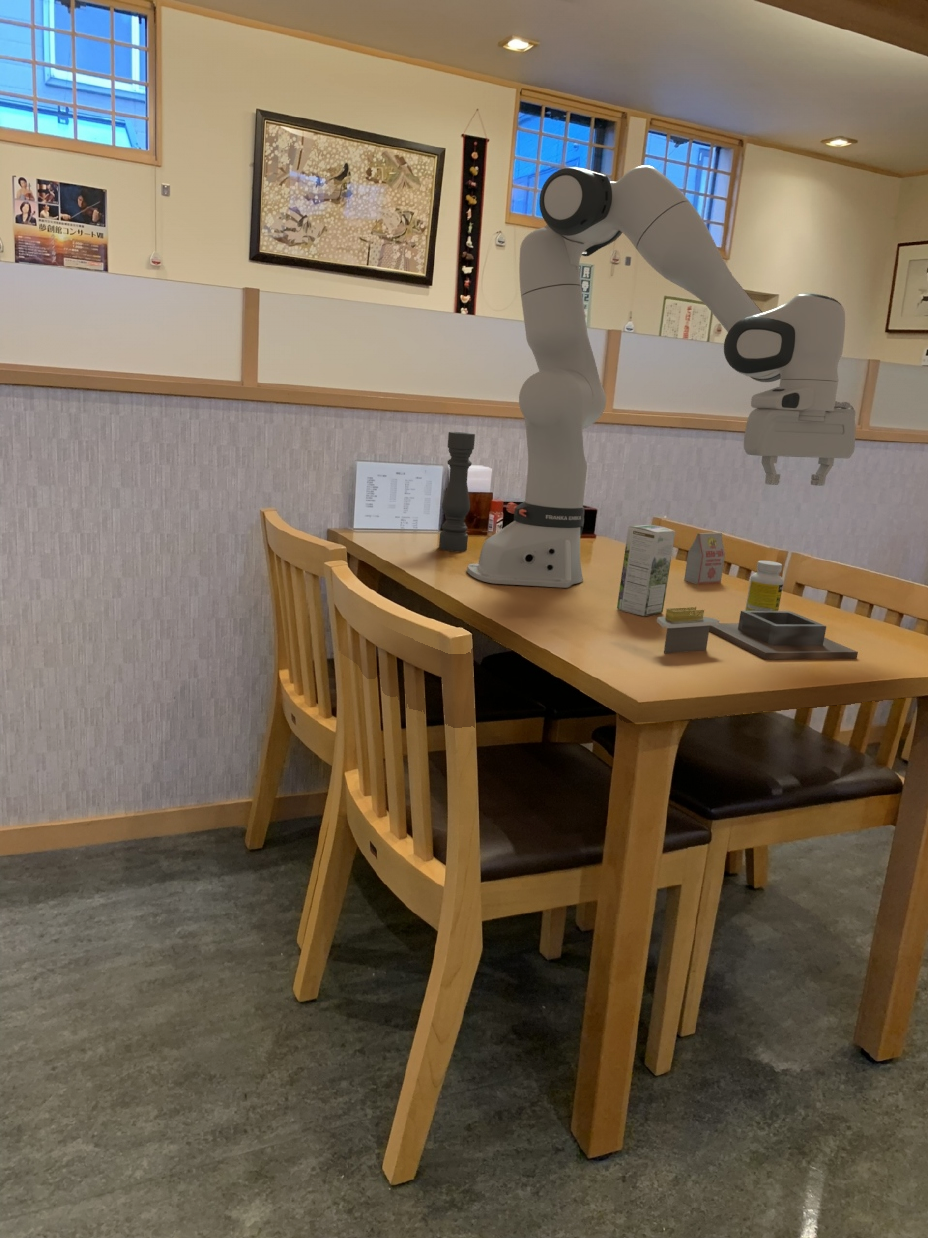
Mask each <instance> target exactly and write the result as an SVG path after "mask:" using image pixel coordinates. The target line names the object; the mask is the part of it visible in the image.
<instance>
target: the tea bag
mask: <svg viewBox="0 0 928 1238" xmlns="http://www.w3.org/2000/svg"><path fill="white" fill-rule="evenodd" d="M725 558H726V553H725V547H724V541H723V533H722V532H705V533H704V532H702V533H701V532H700V533H697V534H696V536H695V538H694V540H693V543H692V545H691V546H690V548H689V550H688V552H687V559H686V564H685V572H684V579H683V581H685V582H689V583H692V584H695V585H706V584H709V585H710V584H721V582H722V576H723V571H724V563H725Z"/></svg>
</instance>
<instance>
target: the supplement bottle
mask: <svg viewBox="0 0 928 1238" xmlns="http://www.w3.org/2000/svg"><path fill="white" fill-rule="evenodd" d="M756 565H757V566H756V570H757V572H754V573H753V574H751V576H750V579H749V580H750V581H749V584H748V585H749V586H748V592H747V598H746V601H745V602H746V604H745V609H744V611H780V609H779V608H780V604H781V599H782V598H781V597H782V592H783V588H784V579H783V578H782V576H780V574H781V572H782V568H783V564H782V563H780V562H777V561H772V560H758V561H757V564H756Z"/></svg>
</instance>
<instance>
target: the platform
mask: <svg viewBox="0 0 928 1238" xmlns="http://www.w3.org/2000/svg"><path fill="white" fill-rule="evenodd" d="M665 612H666V613H665V616H657V618H656V622H657V624H659V626H661V627H663V628H665V629H666V633H665V641H664V647H663V648H664V650H663V654H665V655H666V654H675V653H676V654H677V653H685V652H686V653H687V652H699V651H706V650H707V646H708V640H709V636H710V634H709V633H710V631H709V628H710V625H719V623H720V620H719V619H716V618H714V617H710V616H709V617H707V616H704V613H705V609H704V608H703V609H697V606H690V607H688V606H687V607H669V608H666V610H665Z"/></svg>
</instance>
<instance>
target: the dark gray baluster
mask: <svg viewBox="0 0 928 1238" xmlns="http://www.w3.org/2000/svg"><path fill="white" fill-rule="evenodd" d="M475 439H476V434H475V433H472V432H471V433H470V432H461V431H448V434H447V448H448V453H449V456H450V458H449V459H448V460H447V465H449V476H448V478H449V479H448V484H447V488H446V490H445V494H444V497H443V501H442V503H441V508H442V511H443V514H444V515H445V516H444V517H445V521H444V522H443V524H441V530H442V531H440V533H439V541H438V543H439V544H438V549H440V550H442V551H448V552H466V551H467V550H468V540H469V534H468V533H467V531H468V526H467V524H466V522H465V520H466V517H467V516H468V515H469V513H470V509H471V501H470V495H469V494H470V493H469V488H468V487H469V486H468V473H469V469H470V467H471V466H472V464H473V463H472V461H471V460H470V457H471V455H472V454H473V451H474V450H475Z"/></svg>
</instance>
